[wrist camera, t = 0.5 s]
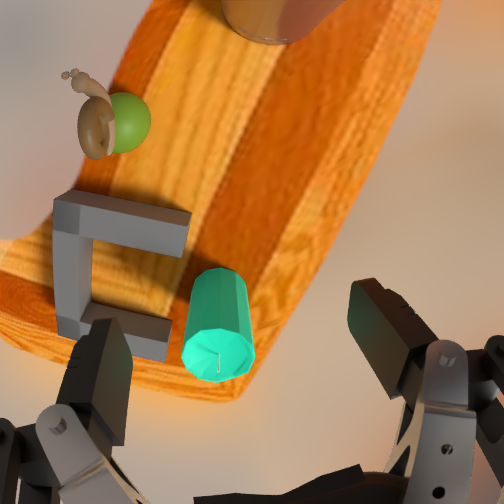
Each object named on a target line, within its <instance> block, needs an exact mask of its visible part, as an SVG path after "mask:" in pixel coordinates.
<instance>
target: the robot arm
mask: <svg viewBox="0 0 504 504" xmlns="http://www.w3.org/2000/svg"><path fill="white" fill-rule="evenodd" d="M344 1H345V0H221V5H222V11H223V14H224V16H225V19H226V21H227V22H228V23H229V25H230V26H231V27H232V28H233V29H234V30H235V31H236V32H237V33H238V34H240V35H241V36H243V37H245V38H247V39H248V40H251V41H254V42H257V43H260V44H266V45H283V44H289V43H292V42H295V41H297V40H300V39H301V38H303V37H304V36H306V35H307V34H308V33H309V32H310V31H312V30H313V29H314V28H315V27H316V26H317V25H318V24H319V23H320V22H321V21H323V20H324V19H325V18H326V17H327V16H328V15H329V14H330V13H331V12H332V11H334V10H335V9H336V8H337V7H338V6H339V5H340V4H342V3H343V2H344ZM347 321H348V327H349V330H350V332H351V334H352V336H353V337H354V339H355V340H356V342H357V344H358V346H359V347H360V349H361V351H362V352H363V354H364V355H365V357H366V359H367V360H368V362H369V364H370V365H371V367H372V369H373V371H374V372H375V374H376V376H377V377H378V379H379V381H380V382H381V384H382V386H383V388H384V389H385V391H386V393H387V394H388V396H389V398H390V400H391V399H394V398H397V397H399V396H403V398H404V399H405V402H404V404H403V408H402V412H401V417H400V422H399V426H398V430H397V434H396V438H395V442H394V445H393V449H392V452H391V455H390V457H389V459H388V462H387V464H386V466H385V469H384V471H383V472H363V471H362V469H361V467H360V464H357V465H354V466H351V467H349V468H345V469H342V470H339V471H335V472H332V473H329V474H325V475H322V476H320V477H317V478H316V479H314V480H312V481H310V482H308V483H306V484H304V485H302V486H300V487H298V488H296V489H293V490H292V491H289V492H287V493H285V494H282V495H256V494H241V493H231V494H223V495H213V496H201V497H193V498H194V504H467V501H468V496H469V490H470V483H471V477H472V469H473V461H474V450H475V438H476V440H477V442H478V444H479V446H480V447H481V449H482V451H483V453H484V455H485V456H486V459H487V460H488V462H489V464H490V466H491V468H492V470H493V472H494V474H495V476H496V478H497V480H498V482H499V484H500V486H501V488H502V490H501V495H500V499H499V500H498V502H497V504H504V408H503V406H502V405H501V403H500V402H499V400H498V399H497V397H496V396H497V395H498V393H499V392H500V391H501V392H502V393H503V395H504V336H502V335H495V336H492V337H490V338H489V339H488V341H487V343H486V345H485V347H484V349H478V350H467V351H465V350H464V349H463V348H462V347H461V346H460V345H459V344H457V343H455V342H453V341H450V340H439V339H438V338H437V337H436V335H435V334H434V333H433V332H432V331H431V329H430V328H429V327H428V326H427V325H426V324H425V322H424V321H423V320H422V319H421V318H420V317H419V316H418V314H415V311H414V310H413V309H412V308H411V306H410V307H409V304H408V303H407V302H406V301H405V300H404V299H403V298H402V296H401V295H399V294H397V293H396V292H394V291H392V290H390V289H384V288H383V287H382V285H381V284H380V283H379V282H378V281H377V280H376V279H375V278H368V279H363V280H358V281H354V282H353V283H352V285H351V291H350V300H349V308H348V316H347ZM132 369H133V360H132V354H131V351H130V348H129V346H128V343H127V341H126V339H125V336H124V334H123V331H122V329H121V326H120V324H119V321H118V319H117V318H116V317H110V318H100V319H94V321H93V323H92V326H91V328H90V331H89V334H88V335H83V336H82V337H81V338H80V339H79V340H78V342H77V343H76V344H75V345H74V348H73V350H72V353H71V356H70V360H69V362H68V365H67V369H66V371H65V375H64V377H63V381H62V384H61V387H60V391H59V394H58V397H57V401H56V404H55V405H52V406H49V407H47V408H46V409H45V410H43V411H42V412H41V414H40V415H39V417H38V419H37V421H36V423H35V424H30V425H27V426H22V427H18V428H15V427H14V426H13V425H12V423H11V422H10V421H9V420H7V419H5V418H0V504H15V499H16V490H17V483H18V478H19V479H21V484H20V493H19V501H18V504H60V498H61V500H62V502H63V504H150V502H149V501H148V500H147V499H146V498H145V497H144V496H143V495H142V494H141V492H140V491H139V490H138V489H137V488H136V486H135V485H134V484H133V483H132V482H131V480H130V479H129V478H128V477H127V475H126V474H125V473H124V471H123V470H122V469H121V467H120V466H119V465H118V463H117V462H116V461H115V459H114V458H113V457H112V456H111V453H112V446H124V439H125V427H126V417H127V408H128V399H129V391H130V383H131V376H132Z"/></svg>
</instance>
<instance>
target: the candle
mask: <svg viewBox="0 0 504 504" xmlns="http://www.w3.org/2000/svg"><path fill="white" fill-rule="evenodd" d="M181 358H182V360H183V362H184V365H185V367H186V369H187V370H188V371H190V372H191V373H192V374H193V375H195V376H196V377H197V378H199V379H200V380H205V381H211V382H216V383H218V382H221V381H225V380H228V379H232V378H235V377H237V376H240V375H242V374H245V373H247V372H249V370H250V368H251V366H252V364H253V361H254V359H255V351H254V344H253V336H252V328H251V320H250V312H249V305H248V297H247V291H246V285H245V281H244V280H243V279H242V278H241V277H240V276H239V275H238V274H237V273H236V272H235V271H231V270H228V269H225V268H222V267H220V268H215V269H209V270H206V271H204V272H203V273H202V274H201V275H199V276H198V277H197V278H196V279H195V282H194V285H193V288H192V291H191V297H190V303H189V309H188V316H187V322H186V328H185V335H184V341H183V348H182V355H181Z"/></svg>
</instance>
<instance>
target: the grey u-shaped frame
mask: <svg viewBox="0 0 504 504" xmlns="http://www.w3.org/2000/svg"><path fill="white" fill-rule="evenodd" d="M191 216H192V213H188V212H184V211H179V210H174V209H169V208H165V207H160V206H155V205H150V204H145V203H140V202H136V201H131V200H126V199H121V198H116V197H110V196H105V195H100V194H95V193H90V192H85V191H80V190H74V189H71V190H69V191H67V192H66V193H64V194H62V195H60V196H59V197H57V198H55V199H54V203H53V234H52V250H53V281H54V297H55V309H56V319H57V328H58V335H59V336H63V337H66V338H69V339H72V340H76V341H78V340H79V339H80V338H81V337H82V336H83V335H88V334H89V331H90V328H91V326H92V323H93V321H94V319H100V318H110V317H116V318H117V319H118V321H119V324H120V326H121V329H122V331H123V334H124V336H125V339H126V341H127V343H128V346H129V348H130V351H131V354H132V356H136V357H141V358H145V359H150V360H154V361H159V362H164V363H165V359H166V354H167V349H168V344H169V339H170V332H171V326H172V321H170V320H166V319H161V318H156V317H152V316H147V315H143V314H138V313H134V312H130V311H126V310H121V309H117V308H113V307H109V306H105V305H101V304H97V303H94V302H91V274H92V247H93V239H96V240H100V241H105V242H109V243H114V244H118V245H122V246H127V247H132V248H136V249H141V250H145V251H150V252H154V253H159V254H164V255H168V256H173V257H178V258H181V257H182V254H183V251H184V247H185V244H186V240H187V235H188V230H189V225H190V220H191Z"/></svg>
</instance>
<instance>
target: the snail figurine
mask: <svg viewBox="0 0 504 504" xmlns="http://www.w3.org/2000/svg"><path fill="white" fill-rule="evenodd" d="M70 74H71V75H70ZM70 74H69V72H63V73H62V75H61V77H62V78H63V79H68V78H69V76H71V77H72V83H71V85H72V88H73V89H74V91H76V92H79V93H81V92H83V93H85V94H86V95H87V96H89V97H90V99H88V100H87V101H86V102H85V103H84V104H83V106H82V107H81V110H80V113H79V116H78V127H77V128H78V138H79V142H80V145H81V148H82V150H83V152H84V153H85V154H86V156H87V157H89V158H90V159H93V160H98V159H101V158H102V157H103V156H104V155H105V154H106V155H107V156H110V155H111V153H116V154H119V153H125V152H129V151H131V150H133V149H135V148H136V147H138V146H139V145H140V144H141V143H142V142H143V141H144V139H145V138H146V136H147V134H148V132H149V129H150V125H151V115H150V111H149V108H148V106H147V105H146V103H145V102H144V101H143V100H142V99H141V98H140V97H138V96H137V95H135V94H132V93H128V92H118V93H114V94H111V95H108V93H107V92H106V90H105V89H104V88H103V87H102V86H101V85H100V84H99V83H98V82H97V81H95V80H94V79H91V78H90V77H89V75H88V74H87V73H84V72H79V70H78V69H73V70H71V72H70Z"/></svg>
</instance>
